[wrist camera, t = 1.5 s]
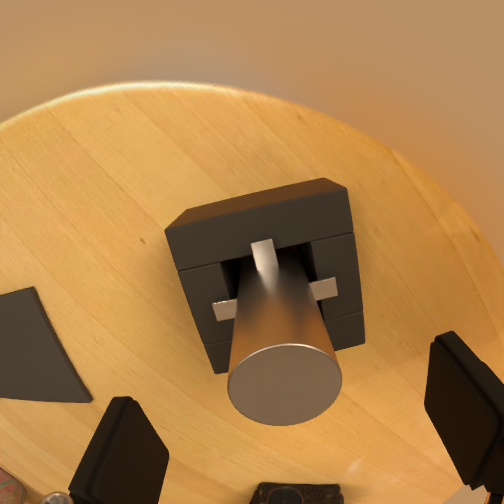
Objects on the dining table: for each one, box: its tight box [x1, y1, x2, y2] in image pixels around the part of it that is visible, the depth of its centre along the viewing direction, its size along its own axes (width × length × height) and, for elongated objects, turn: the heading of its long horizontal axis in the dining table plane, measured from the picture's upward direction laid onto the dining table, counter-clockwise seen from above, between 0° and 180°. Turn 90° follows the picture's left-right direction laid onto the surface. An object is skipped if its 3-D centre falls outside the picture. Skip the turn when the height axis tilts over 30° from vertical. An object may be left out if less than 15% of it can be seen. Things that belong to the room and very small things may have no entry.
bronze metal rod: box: [212, 237, 342, 426], centre depth 15 cm, size 6×6×12 cm
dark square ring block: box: [165, 178, 365, 374], centre depth 18 cm, size 9×9×5 cm
